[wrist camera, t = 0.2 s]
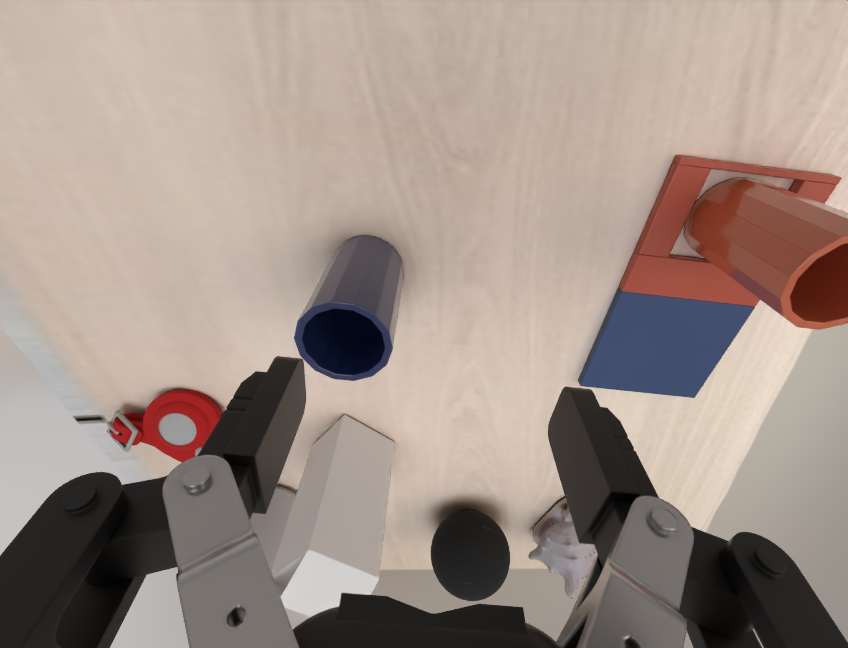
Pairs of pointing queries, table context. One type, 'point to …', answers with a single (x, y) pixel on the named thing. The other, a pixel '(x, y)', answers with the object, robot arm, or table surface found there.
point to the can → (273, 522)
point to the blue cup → (353, 311)
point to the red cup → (776, 248)
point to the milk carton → (335, 521)
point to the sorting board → (678, 294)
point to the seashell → (562, 547)
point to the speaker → (470, 555)
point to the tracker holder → (169, 424)
